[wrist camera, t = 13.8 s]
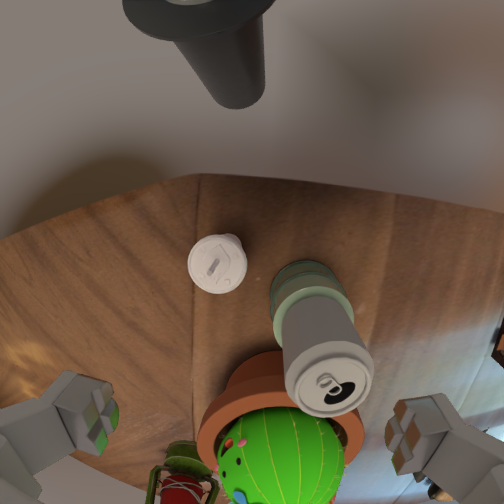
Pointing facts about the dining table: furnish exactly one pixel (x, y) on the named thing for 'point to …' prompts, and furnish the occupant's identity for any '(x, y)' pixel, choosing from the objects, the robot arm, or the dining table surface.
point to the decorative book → (499, 347)
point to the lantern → (182, 477)
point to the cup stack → (303, 290)
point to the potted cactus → (274, 440)
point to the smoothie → (217, 263)
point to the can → (324, 358)
